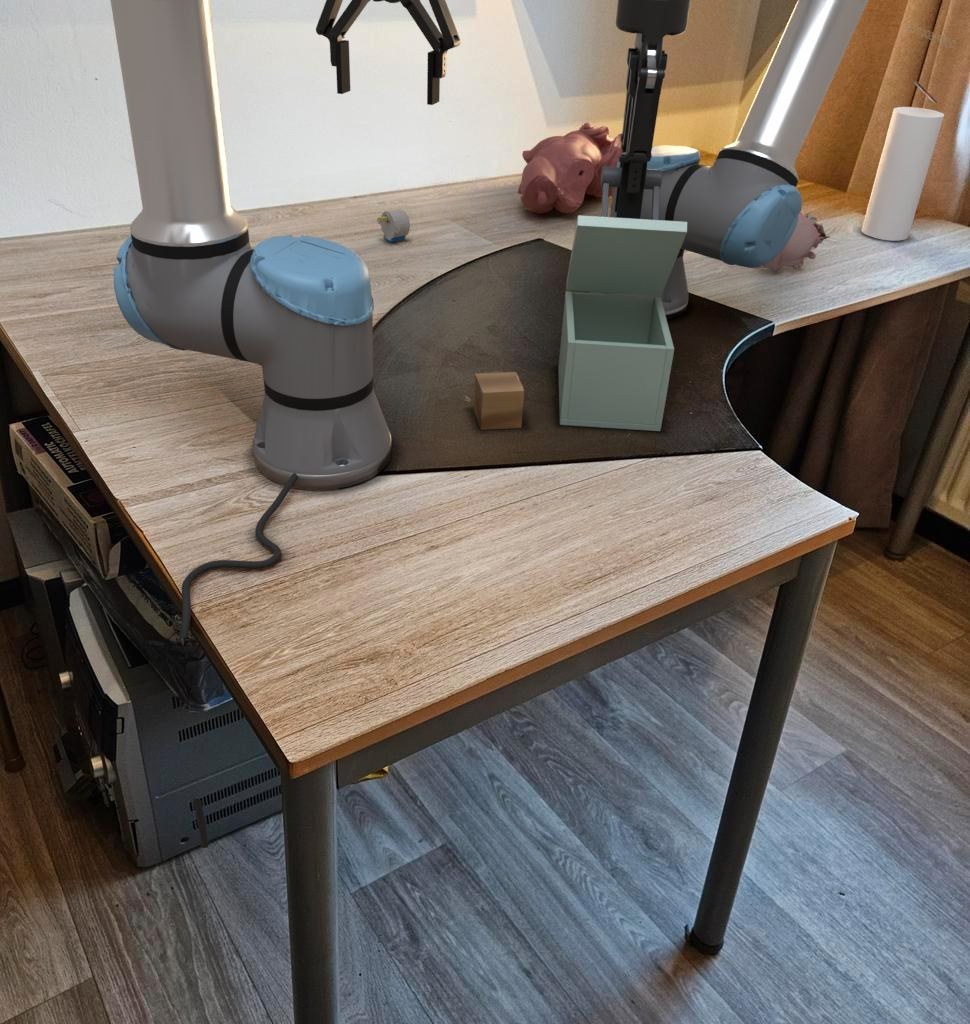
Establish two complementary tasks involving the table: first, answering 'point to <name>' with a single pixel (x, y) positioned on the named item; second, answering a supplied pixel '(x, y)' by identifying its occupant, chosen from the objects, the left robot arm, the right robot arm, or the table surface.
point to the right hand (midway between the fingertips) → (627, 215)
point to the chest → (614, 361)
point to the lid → (624, 246)
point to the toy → (800, 243)
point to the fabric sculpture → (567, 169)
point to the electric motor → (394, 225)
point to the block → (498, 400)
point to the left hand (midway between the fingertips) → (388, 97)
